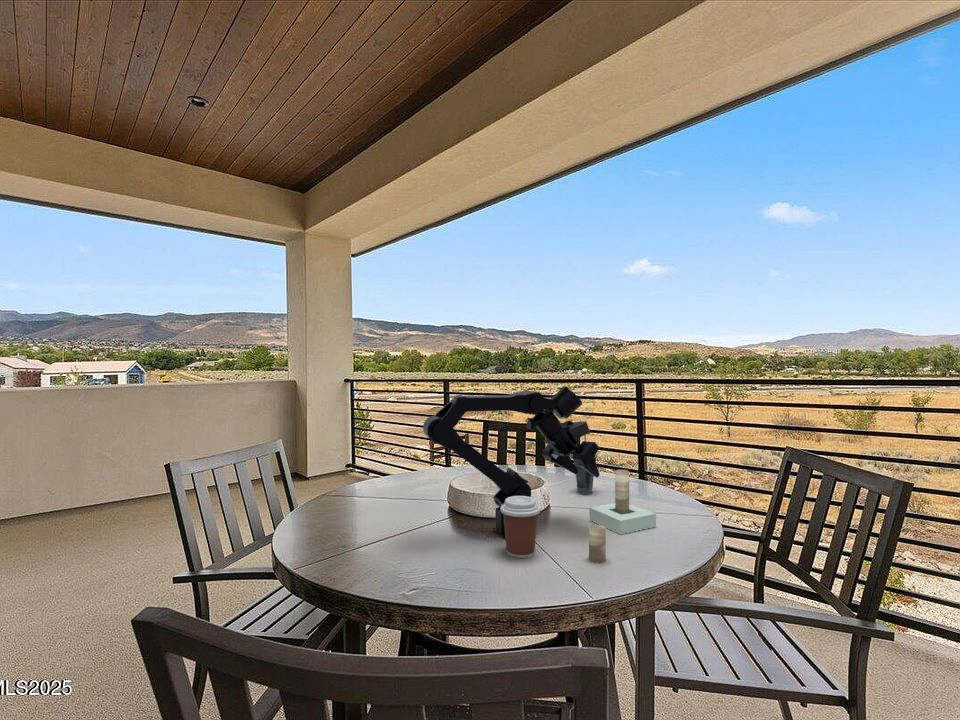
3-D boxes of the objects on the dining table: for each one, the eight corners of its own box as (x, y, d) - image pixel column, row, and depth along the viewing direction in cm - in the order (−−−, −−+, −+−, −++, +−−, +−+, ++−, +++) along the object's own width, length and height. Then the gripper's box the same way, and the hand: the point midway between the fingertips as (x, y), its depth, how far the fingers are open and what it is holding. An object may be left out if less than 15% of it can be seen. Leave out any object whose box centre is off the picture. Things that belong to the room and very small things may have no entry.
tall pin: (628, 526, 129) (628, 473, 129) (614, 524, 131) (614, 472, 131) (630, 522, 133) (630, 470, 133) (616, 520, 134) (616, 469, 134)
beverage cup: (594, 490, 165) (594, 430, 164) (597, 496, 157) (597, 433, 157) (572, 489, 165) (572, 429, 165) (574, 495, 158) (574, 433, 158)
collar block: (620, 534, 124) (620, 520, 124) (589, 520, 135) (589, 507, 134) (656, 527, 129) (656, 513, 129) (623, 514, 140) (623, 501, 140)
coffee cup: (493, 548, 115) (493, 497, 115) (528, 542, 119) (527, 492, 119) (512, 563, 107) (512, 508, 107) (548, 556, 111) (548, 502, 111)
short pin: (596, 563, 107) (596, 531, 107) (585, 557, 110) (585, 526, 110) (609, 560, 108) (609, 528, 108) (598, 554, 111) (598, 523, 111)
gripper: (593, 409, 123) (628, 455, 126) (552, 410, 140) (584, 451, 143) (566, 439, 119) (603, 487, 122) (527, 437, 136) (560, 479, 139)
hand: (587, 474), depth 131 cm, fingers open, 9 cm apart
